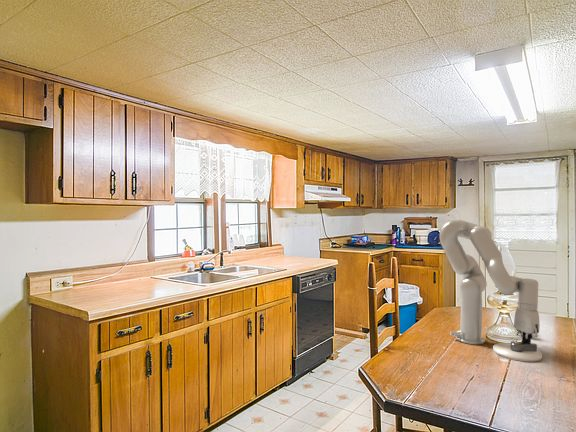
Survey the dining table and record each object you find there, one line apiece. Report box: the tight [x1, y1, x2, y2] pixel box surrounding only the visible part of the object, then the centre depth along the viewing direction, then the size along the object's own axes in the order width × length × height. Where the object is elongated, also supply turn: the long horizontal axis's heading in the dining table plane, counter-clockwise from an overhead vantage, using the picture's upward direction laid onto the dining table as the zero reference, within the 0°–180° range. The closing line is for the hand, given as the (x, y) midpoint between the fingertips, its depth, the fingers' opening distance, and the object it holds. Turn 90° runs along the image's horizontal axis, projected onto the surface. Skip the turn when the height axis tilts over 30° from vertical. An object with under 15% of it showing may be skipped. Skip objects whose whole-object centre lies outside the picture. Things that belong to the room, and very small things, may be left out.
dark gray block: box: [510, 340, 538, 352], centre depth 178 cm, size 10×5×3 cm, turn 84°
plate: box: [492, 342, 543, 363], centre depth 178 cm, size 19×19×2 cm
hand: (526, 346), depth 180 cm, fingers closed
